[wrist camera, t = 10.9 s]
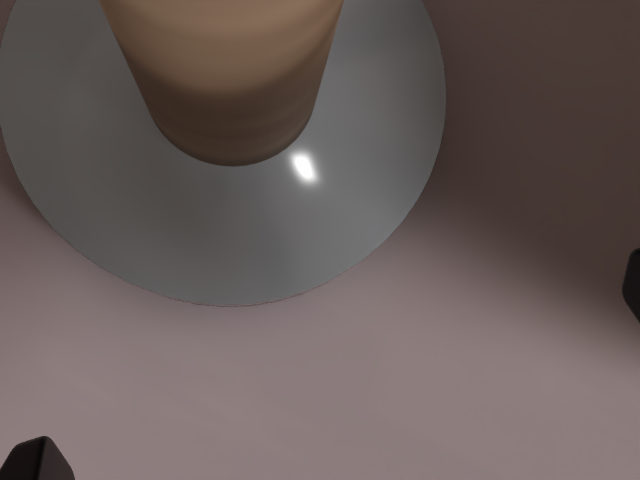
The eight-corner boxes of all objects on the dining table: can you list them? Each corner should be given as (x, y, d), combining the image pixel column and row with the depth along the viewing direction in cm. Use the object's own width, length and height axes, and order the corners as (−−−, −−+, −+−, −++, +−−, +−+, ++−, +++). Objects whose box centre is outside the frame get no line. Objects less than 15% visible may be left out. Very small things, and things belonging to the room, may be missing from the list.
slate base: (466, 257, 20) (495, 246, 18) (68, 350, 18) (40, 353, 16) (371, -91, 22) (387, -145, 19) (-3, -38, 20) (-39, -90, 18)
